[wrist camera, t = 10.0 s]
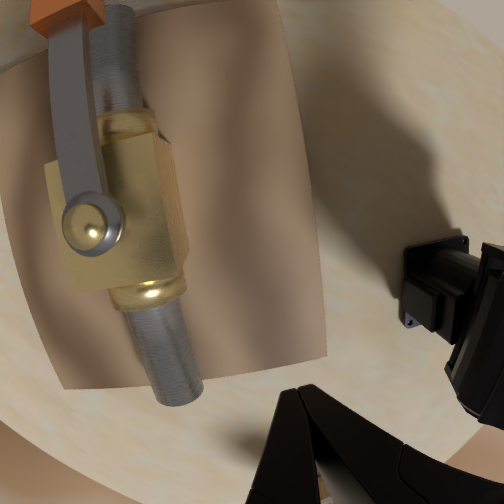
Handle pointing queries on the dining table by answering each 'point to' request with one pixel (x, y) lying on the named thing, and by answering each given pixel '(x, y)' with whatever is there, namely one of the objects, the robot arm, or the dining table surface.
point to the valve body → (136, 217)
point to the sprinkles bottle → (324, 492)
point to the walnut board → (185, 201)
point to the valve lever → (78, 125)
